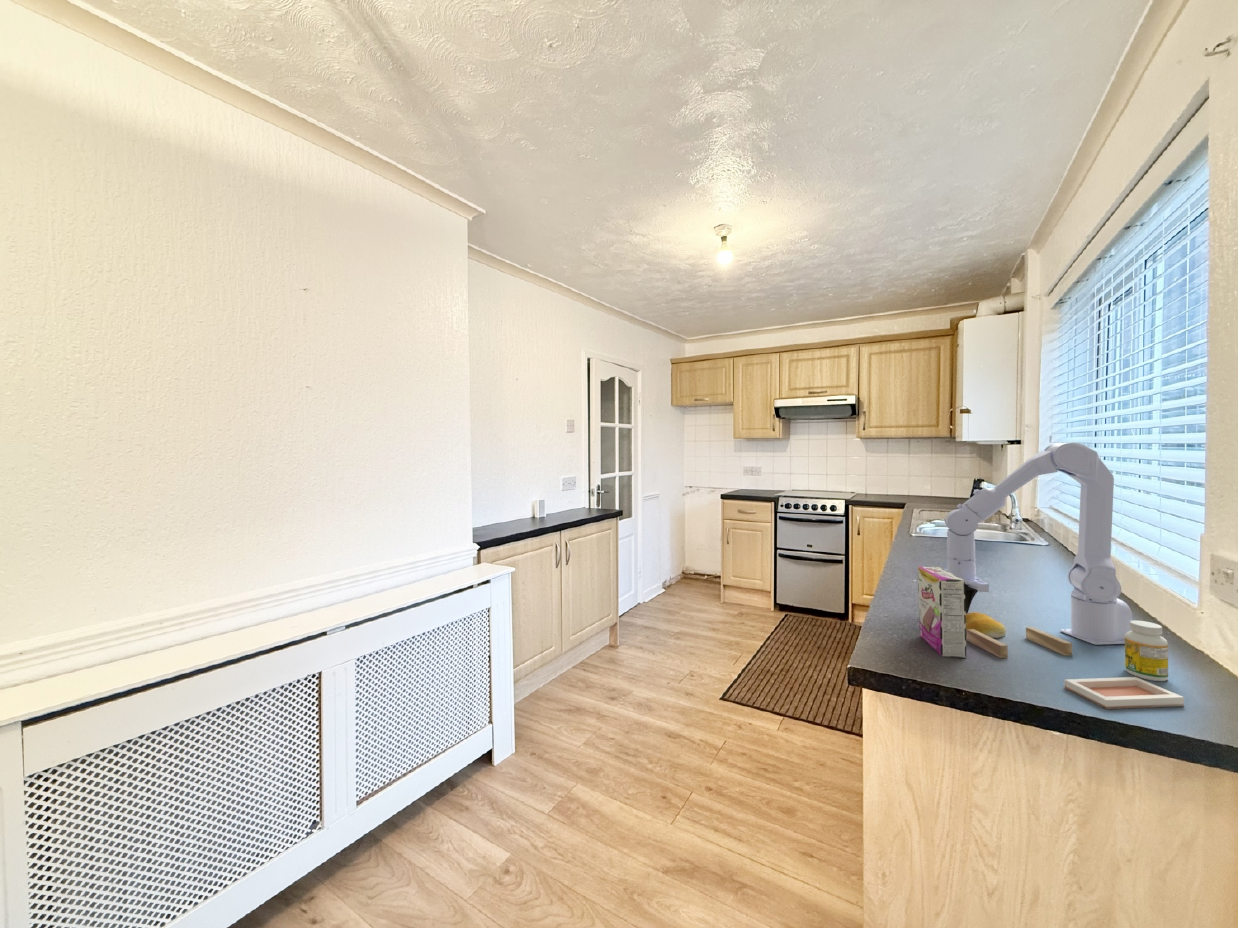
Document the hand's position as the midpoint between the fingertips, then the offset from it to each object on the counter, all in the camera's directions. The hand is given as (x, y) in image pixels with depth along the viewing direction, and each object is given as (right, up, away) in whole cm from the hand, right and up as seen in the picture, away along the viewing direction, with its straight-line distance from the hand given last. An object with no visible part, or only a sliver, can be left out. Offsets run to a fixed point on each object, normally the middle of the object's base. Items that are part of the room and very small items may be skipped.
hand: (961, 612), depth 116 cm
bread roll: (0, -3, -6) cm, 7 cm away
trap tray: (+1, -3, -36) cm, 36 cm away
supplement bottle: (+13, -3, -29) cm, 32 cm away
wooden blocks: (0, -3, -16) cm, 16 cm away
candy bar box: (-15, -3, -15) cm, 21 cm away
